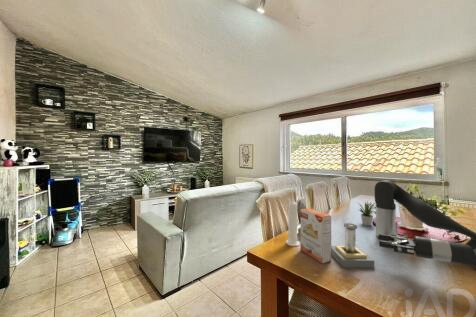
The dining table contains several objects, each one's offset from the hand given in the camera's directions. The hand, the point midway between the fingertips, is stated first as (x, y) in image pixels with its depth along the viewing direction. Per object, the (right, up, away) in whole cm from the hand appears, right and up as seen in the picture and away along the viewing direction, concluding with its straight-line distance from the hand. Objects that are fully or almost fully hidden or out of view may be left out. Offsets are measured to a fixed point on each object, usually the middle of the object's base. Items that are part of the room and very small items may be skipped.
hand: (378, 239), depth 83 cm
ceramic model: (-19, -12, +32) cm, 39 cm away
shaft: (-9, -11, +5) cm, 16 cm away
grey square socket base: (-9, -11, +6) cm, 16 cm away
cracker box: (-24, -12, +9) cm, 28 cm away
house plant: (+31, -12, +52) cm, 62 cm away
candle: (-31, -12, +22) cm, 40 cm away
